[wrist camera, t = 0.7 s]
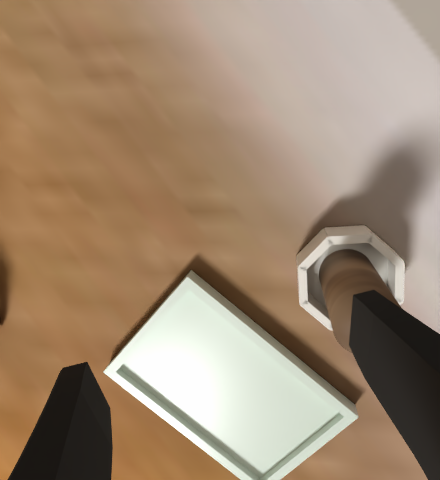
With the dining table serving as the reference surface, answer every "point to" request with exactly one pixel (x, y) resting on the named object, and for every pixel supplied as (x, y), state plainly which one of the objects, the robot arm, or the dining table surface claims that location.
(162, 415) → the sage tray
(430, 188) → the dining table surface
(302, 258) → the white octagonal dish
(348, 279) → the dowel pin
